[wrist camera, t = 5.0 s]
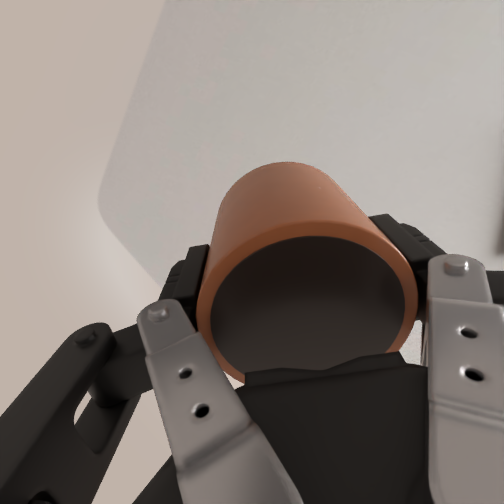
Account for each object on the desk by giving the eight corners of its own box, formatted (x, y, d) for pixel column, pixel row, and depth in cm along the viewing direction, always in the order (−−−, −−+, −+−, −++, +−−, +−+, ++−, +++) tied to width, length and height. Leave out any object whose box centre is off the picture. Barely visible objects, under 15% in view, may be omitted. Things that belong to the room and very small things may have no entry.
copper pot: (201, 176, 13) (165, 245, 7) (347, 148, 13) (430, 199, 7) (231, 293, 16) (223, 408, 10) (351, 273, 16) (413, 383, 10)
